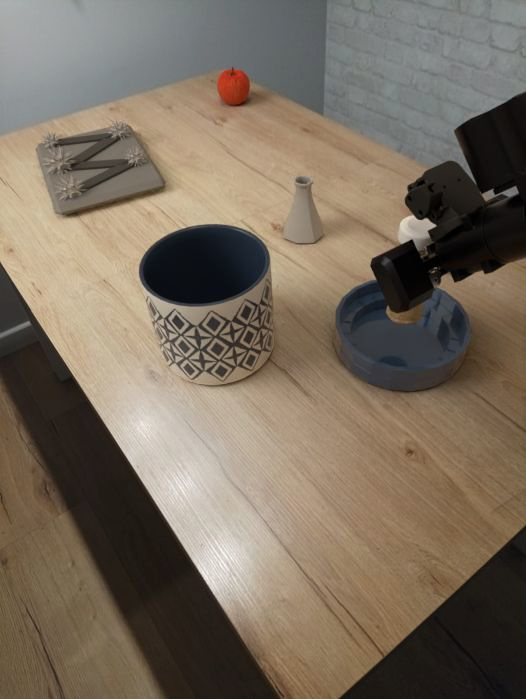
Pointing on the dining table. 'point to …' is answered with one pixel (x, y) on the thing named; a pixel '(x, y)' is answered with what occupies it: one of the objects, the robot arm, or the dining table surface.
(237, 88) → the apple
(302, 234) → the flask
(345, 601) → the dining table surface
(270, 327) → the planter
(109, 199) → the decorative plate
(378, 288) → the bowl
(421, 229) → the sprinkles bottle
